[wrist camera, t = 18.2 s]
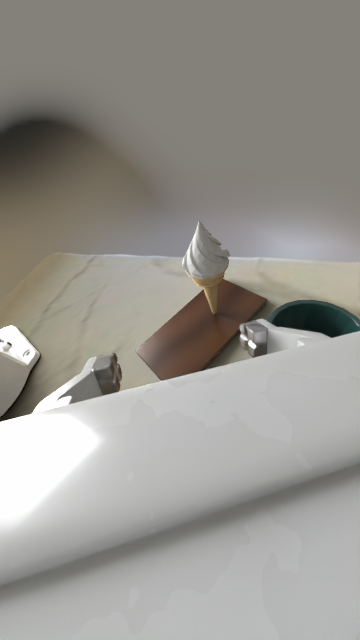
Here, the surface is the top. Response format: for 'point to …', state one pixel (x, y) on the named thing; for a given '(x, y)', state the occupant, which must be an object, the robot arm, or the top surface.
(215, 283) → the ice cream cone
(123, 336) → the top surface
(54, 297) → the top surface
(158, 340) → the board
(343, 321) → the cup
